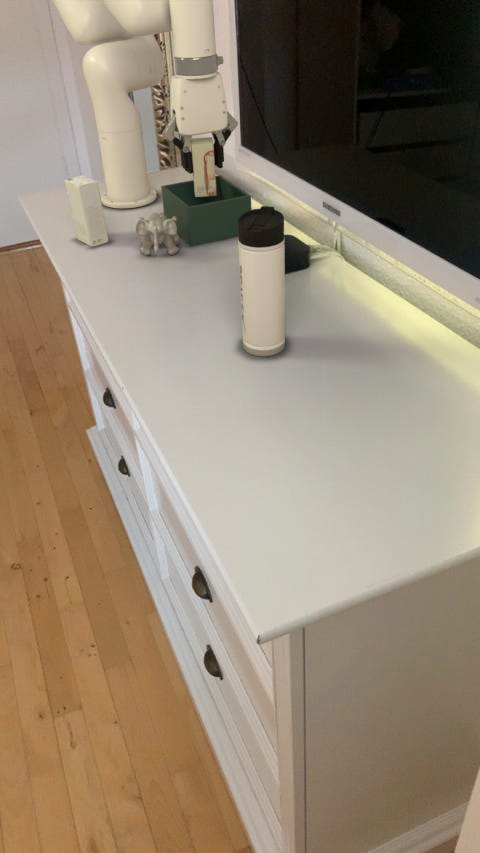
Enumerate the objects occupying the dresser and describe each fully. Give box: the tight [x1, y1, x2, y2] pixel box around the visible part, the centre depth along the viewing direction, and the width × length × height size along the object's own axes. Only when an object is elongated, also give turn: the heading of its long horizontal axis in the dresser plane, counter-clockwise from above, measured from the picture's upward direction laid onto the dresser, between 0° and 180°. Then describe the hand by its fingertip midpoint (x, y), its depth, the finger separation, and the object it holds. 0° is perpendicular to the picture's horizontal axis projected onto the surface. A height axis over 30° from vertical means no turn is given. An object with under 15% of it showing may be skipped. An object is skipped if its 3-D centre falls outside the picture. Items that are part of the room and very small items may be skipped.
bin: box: [160, 174, 252, 247], centre depth 142 cm, size 15×13×8 cm
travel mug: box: [237, 205, 286, 357], centre depth 98 cm, size 6×7×20 cm
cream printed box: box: [190, 136, 217, 197], centre depth 137 cm, size 5×4×10 cm
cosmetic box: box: [64, 175, 110, 248], centre depth 137 cm, size 6×4×12 cm
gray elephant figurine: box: [135, 212, 181, 256], centre depth 131 cm, size 9×12×8 cm
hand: (203, 168), depth 137 cm, fingers closed on cream printed box, 5 cm apart
